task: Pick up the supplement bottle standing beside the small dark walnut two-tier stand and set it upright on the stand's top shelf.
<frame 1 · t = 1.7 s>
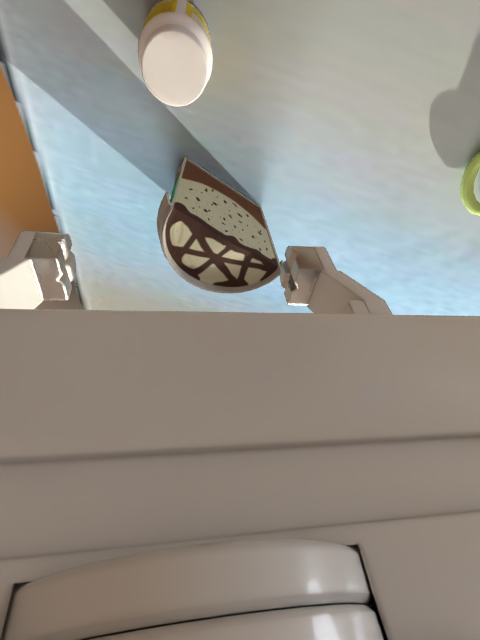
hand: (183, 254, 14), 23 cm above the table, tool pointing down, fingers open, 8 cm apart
food container: (208, 204, 38), on the table
supplement bottle: (178, 36, 28), on the table
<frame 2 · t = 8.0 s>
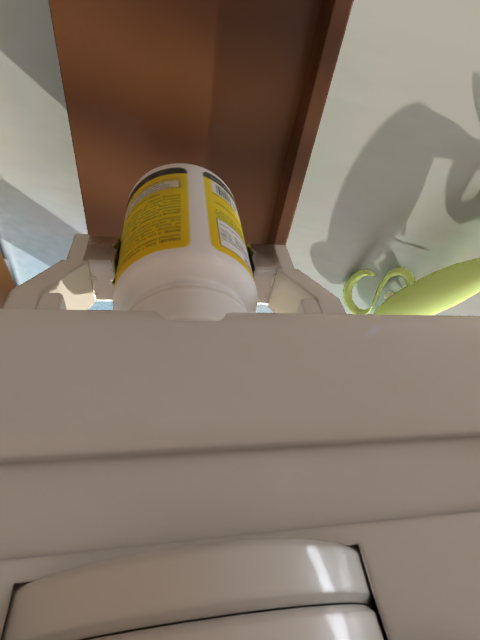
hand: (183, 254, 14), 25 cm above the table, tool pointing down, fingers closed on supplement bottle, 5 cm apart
stand: (184, 63, 30), on the table
supplement bottle: (183, 211, 16), point 21 cm above the table, touching gripper
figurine: (443, 269, 51), on the table
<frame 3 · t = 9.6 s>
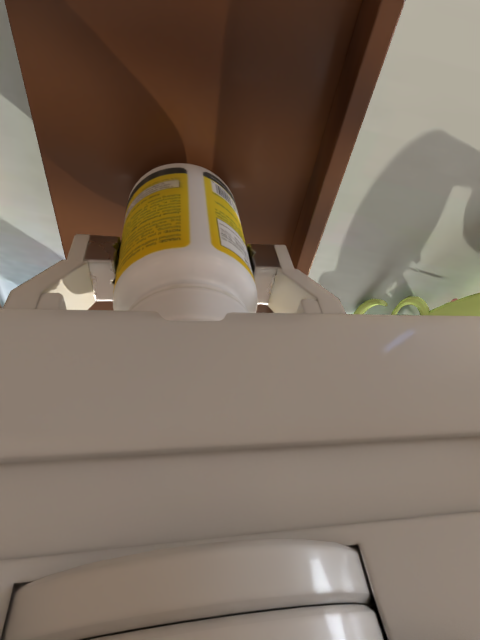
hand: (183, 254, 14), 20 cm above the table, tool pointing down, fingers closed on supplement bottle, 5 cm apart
stand: (184, 91, 27), on the table
supplement bottle: (183, 210, 16), point 17 cm above the table, touching gripper
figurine: (458, 297, 49), on the table
when the fingers open (19 cm above the table, at t = 10.2 s): supplement bottle stays where it is, resting on stand.
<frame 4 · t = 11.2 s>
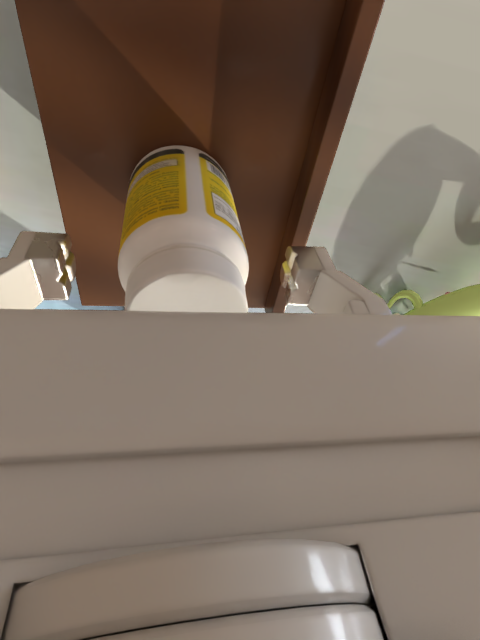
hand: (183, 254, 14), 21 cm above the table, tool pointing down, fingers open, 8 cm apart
stand: (182, 88, 28), on the table
supplement bottle: (181, 191, 18), point 16 cm above the table, touching stand
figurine: (451, 290, 50), on the table
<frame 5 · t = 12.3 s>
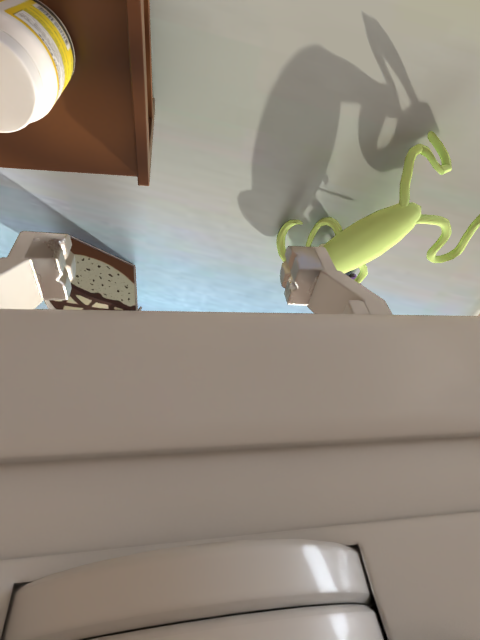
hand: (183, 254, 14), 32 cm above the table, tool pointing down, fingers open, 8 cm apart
food container: (95, 265, 52), on the table
stand: (82, 4, 32), on the table
supplement bottle: (34, 45, 22), point 16 cm above the table, touching stand
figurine: (374, 222, 54), on the table
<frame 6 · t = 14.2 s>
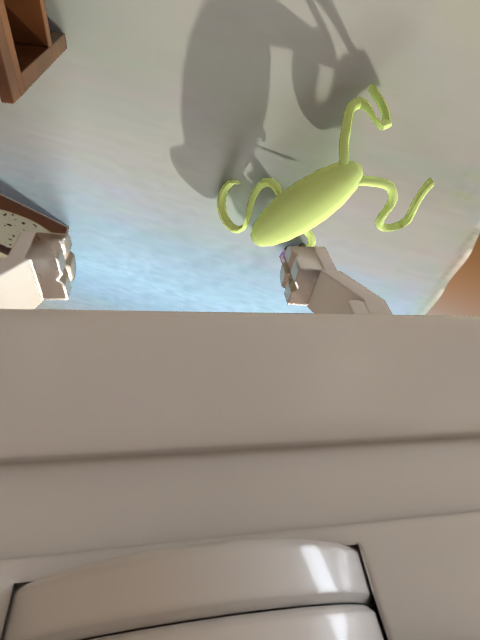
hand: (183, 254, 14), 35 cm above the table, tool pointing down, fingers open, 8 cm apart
food container: (25, 225, 50), on the table
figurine: (320, 186, 51), on the table
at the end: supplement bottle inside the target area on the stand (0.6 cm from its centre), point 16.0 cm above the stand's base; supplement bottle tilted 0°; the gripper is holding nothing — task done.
